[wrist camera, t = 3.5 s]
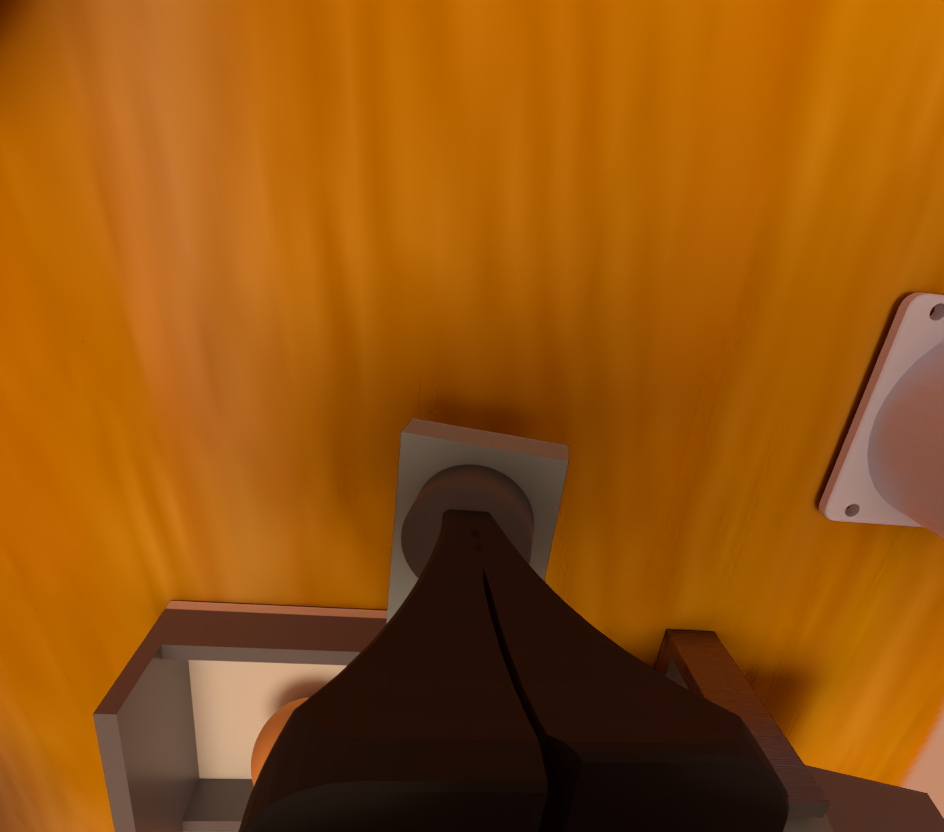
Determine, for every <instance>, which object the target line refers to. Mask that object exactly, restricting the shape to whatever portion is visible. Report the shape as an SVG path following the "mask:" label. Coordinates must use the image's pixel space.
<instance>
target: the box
mask: <svg viewBox="0 0 944 832" xmlns="http://www.w3.org/2000/svg"><path fill="white" fill-rule="evenodd" d="M386 623H387V611H384V610H362V609H340V608H319V607H297V606H276V605H254V604H233V603H211V602H190V601H170V603H169V604H168V606H167V607H166V608H165V610H164V611H163V613H162V614H161V616H160V617H159V619H158V620H157V622H156V623H155V624H154V626H153V627H152V629H151V630H150V632H149V633H148V635H147V636H146V638H145V639H144V641H143V642H142V643H141V645H140V646H139V648H138V649H137V651H136V652H135V654H134V655H133V657H132V658H131V659H130V661H129V662H128V664H127V665H126V667H125V668H124V670H123V671H122V673H121V674H120V675H119V677H118V678H117V680H116V681H115V683H114V684H113V686H112V687H111V689H110V690H109V691H108V693H107V694H106V696H105V697H104V699H103V700H102V702H101V703H100V705H99V706H98V708H97V709H96V710H95V712H94V713H93V716H94V722H95V727H96V732H97V738H98V743H99V748H100V754H101V759H102V765H103V770H104V775H105V781H106V786H107V791H108V797H109V802H110V807H111V813H112V818H113V823H114V829H115V832H183V831H212V832H238V831H239V828H240V825H241V822H242V819H243V815H244V812H245V809H246V806H247V803H248V800H249V797H250V794H251V792H252V790H253V787H254V786H253V782H252V777H251V757H252V752H253V748H254V745H255V742H256V739H257V737H258V735H259V733H260V731H261V730H262V728H263V726H264V725H265V724H266V722H267V721H268V720H269V719H270V717H271V716H272V715H273V714H274V713H275V712H277V711H278V710H279V709H280V708H282V707H283V706H285V705H286V704H288V703H290V702H292V701H295V700H297V699H301V698H305V697H311V696H312V695H313V694H315V693H316V692H317V691H318V690H319V689H321V688H322V687H323V686H324V685H326V684H327V683H328V682H329V681H331V680H332V679H333V678H334V677H335V676H337V675H338V674H339V673H340V672H341V671H342V670H343V669H344V668H345V667H346V666H347V665H348V664H349V663H350V662H351V661H352V660H353V659H354V658H355V657H356V656H357V655H358V654H359V653H361V652H362V651H363V650H364V649H365V648H366V647H367V646H368V645H369V644H370V642H371V641H372V640H373V639H374V638H375V637H376V636H377V635H378V634H379V633H380V631H381V630H382V629H383V628H384V626H385V625H386Z"/></svg>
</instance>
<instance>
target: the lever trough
mask: <svg viewBox="0 0 944 832" xmlns="http://www.w3.org/2000/svg"><path fill="white" fill-rule="evenodd" d="M568 463H569V453H568V445H566V444H560V443H554V442H548V441H543V440H537V439H531V438H525V437H520V436H514V435H508V434H502V433H496V432H491V431H485V430H479V429H473V428H468V427H462V426H456V425H450V424H445V423H439V422H433V421H427V420H422V419H416V418H412V419H411V421H410V422H409V423H408V424H407V425H406V427H405V428H404V429H403V430H402V432H401V443H400V456H399V469H398V482H397V494H396V507H395V520H394V533H393V546H392V559H391V572H390V585H389V598H388V610H387V623H388V622H389V620H390V619H391V618H392V617H393V615H394V614H395V613H396V612H397V610H398V609H399V608H400V606H401V605H402V603H403V602H404V601H405V599H406V598H407V596H408V595H409V593H410V592H411V590H412V589H413V587H414V585H415V584H416V582H417V580H418V579H419V577H420V575H421V573H422V571H423V570H424V568H425V566H426V564H427V562H428V560H429V558H430V556H431V554H432V552H433V549H434V547H435V545H436V543H437V540H438V537H439V534H440V531H441V524H442V515H443V513H444V512H445V511H447V510H448V509H453V510H468V511H483V512H489V513H490V514H491V515H492V517H493V518H494V519H495V521H496V522H497V523H498V525H499V526H500V528H501V529H502V530H503V532H504V533H505V534H506V536H507V537H508V538H509V540H510V541H511V542H512V544H513V545H514V546H515V548H516V549H517V550H518V551H519V553H520V554H521V555H522V556H523V558H524V559H525V560H526V561H527V562H528V564H529V565H530V566H531V567H532V568H533V570H534V571H535V572H536V573H537V574H538V575H539V576H540V577H541V578H542V580H543V581H544V580H545V575H546V570H547V565H548V560H549V555H550V551H551V546H552V541H553V536H554V531H555V526H556V521H557V516H558V511H559V507H560V502H561V497H562V492H563V487H564V482H565V477H566V472H567V467H568ZM387 623H386V624H387ZM805 767H806V768H807V769H808V771H809V772H810V774H811V775H812V777H813V778H814V780H815V781H816V783H817V784H818V786H819V787H820V789H821V790H822V792H823V793H824V795H825V796H826V798H827V799H828V800H829V802H830V803H831V804H830V806H829V808H828V810H827V811H826V813H825V815H824V817H823V818H787V821H786V824H785V827H784V830H783V832H944V818H943V817H942V816H941V814H940V812H939V811H938V809H937V808H936V806H935V805H934V803H933V802H932V800H931V799H930V797H929V795H928V794H927V793H923V792H919V791H914V790H910V789H906V788H902V787H897V786H893V785H889V784H884V783H880V782H876V781H871V780H867V779H863V778H858V777H854V776H850V775H845V774H841V773H837V772H833V771H828V770H824V769H820V768H815V767H811V766H807V765H805Z"/></svg>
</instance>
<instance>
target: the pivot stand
mask: <svg viewBox="0 0 944 832" xmlns="http://www.w3.org/2000/svg"><path fill="white" fill-rule="evenodd" d="M654 670H656V671H658V672H659V673H661V674H663V675H664V676H666V677H667V678H669V679H671V680H672V681H674V682H676V683H677V684H679V685H681V686H683V687H684V688H686V689H688V690H690V691H692V692H694V693H696V694H698V695H700V696H702V697H704V698H706V699H707V700H709V701H711V702H713V703H715V704H717V705H719V706H721V707H723V708H725V709H727V710H729V711H730V712H732V713H734V714H736V715H738V716H740V717H741V719H742V720H743V721H744V723H745V724H746V726H747V727H748V728H749V730H750V731H751V733H752V734H753V736H754V737H755V739H756V740H757V742H758V743H759V745H760V747H761V748H762V750H763V751H764V753H765V755H766V756H767V758H768V760H769V761H770V763H771V765H772V766H773V768H774V770H775V771H776V773H777V775H778V776H779V778H780V780H781V782H782V783H783V785H784V787H785V789H786V791H787V793H788V800H789V814H788V817H787V818H823V817H824V815H825V813H826V811H827V810H828V808H829V806H830V804H831V803H830V802H829V800H828V799H827V798H826V796H825V795H824V793H823V792H822V790H821V789H820V787H819V786H818V784H817V783H816V781H815V780H814V778H813V777H812V775H811V774H810V772H809V771H808V769H807V768H806V767H805V765H804V764H803V762H802V761H801V759H800V758H799V756H798V755H797V753H796V752H795V750H794V749H793V747H792V746H791V744H790V743H789V741H788V740H787V738H786V737H785V736H784V734H783V733H782V731H781V730H780V728H779V727H778V725H777V724H776V722H775V721H774V719H773V718H772V716H771V715H770V713H769V712H768V710H767V709H766V707H765V706H764V704H763V703H762V702H761V700H760V699H759V697H758V696H757V694H756V693H755V691H754V690H753V688H752V687H751V685H750V684H749V682H748V681H747V679H746V678H745V676H744V675H743V673H742V672H741V671H740V669H739V668H738V666H737V665H736V663H735V662H734V660H733V659H732V657H731V656H730V654H729V653H728V651H727V650H726V648H725V647H724V645H723V644H722V642H721V641H720V639H719V638H718V637H717V635H716V634H715V632H706V631H684V630H666V634H665V637H664V640H663V643H662V646H661V649H660V652H659V656H658V659H657V662H656V665H655V668H654Z"/></svg>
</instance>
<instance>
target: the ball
mask: <svg viewBox="0 0 944 832" xmlns="http://www.w3.org/2000/svg"><path fill="white" fill-rule="evenodd" d="M308 698H310V697H305V698H301V699H297V700H295V701H292V702H290V703H288V704H286V705H285V706H283V707H282V708H280V709H279V710H278V711H277V712H275V713H274V714H273V715H272V716H271V717H270V719H269V720H268V721H267V722H266V724H265V725H264V726H263V728H262V730H261V731H260V733H259V735H258V737H257V739H256V742H255V745H254V748H253V752H252V757H251V777H252V782H253V786H254V785H255V783H256V781H257V778H258V776H259V773H260V771H261V769H262V767H263V765H264V763H265V761H266V759H267V757H268V755H269V753H270V751H271V749H272V747H273V745H274V743H275V742H276V740H277V738H278V736H279V734H280V733H281V731H282V729H283V727H284V726H285V724H286V722H287V721H288V719H289V717H290V716H291V714H292V712H293V711H294V709H296V708H297V707H298V706H300V705H301V704H302V703H303V702H305V701H306V700H307V699H308Z"/></svg>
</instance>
